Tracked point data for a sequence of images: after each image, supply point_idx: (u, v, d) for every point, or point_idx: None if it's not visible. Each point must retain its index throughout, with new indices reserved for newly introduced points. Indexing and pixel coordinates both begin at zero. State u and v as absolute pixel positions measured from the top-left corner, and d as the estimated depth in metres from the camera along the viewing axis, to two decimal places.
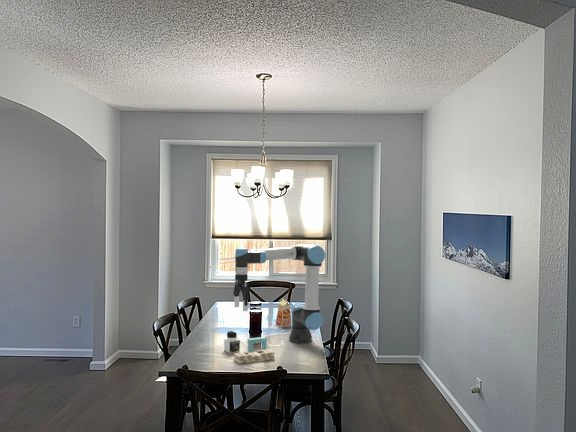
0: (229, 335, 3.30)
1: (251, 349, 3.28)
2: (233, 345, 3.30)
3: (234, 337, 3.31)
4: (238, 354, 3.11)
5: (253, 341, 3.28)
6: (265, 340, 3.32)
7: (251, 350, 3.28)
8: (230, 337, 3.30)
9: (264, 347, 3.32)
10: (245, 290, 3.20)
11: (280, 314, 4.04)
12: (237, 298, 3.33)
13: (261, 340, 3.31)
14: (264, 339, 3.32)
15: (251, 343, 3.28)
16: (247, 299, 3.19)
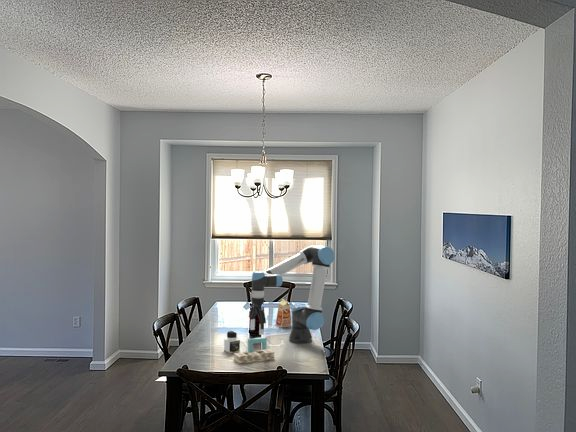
0: (229, 335, 3.30)
1: (251, 349, 3.28)
2: (233, 345, 3.30)
3: (234, 337, 3.31)
4: (238, 354, 3.11)
5: (253, 341, 3.28)
6: (265, 340, 3.32)
7: (251, 350, 3.28)
8: (230, 337, 3.30)
9: (264, 347, 3.32)
10: (262, 314, 3.23)
11: (280, 314, 4.04)
12: (253, 321, 3.37)
13: (261, 340, 3.31)
14: (264, 339, 3.32)
15: (251, 343, 3.28)
16: (263, 323, 3.22)
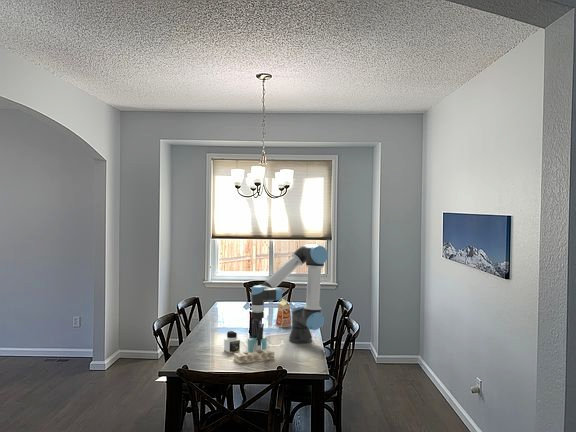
0: (229, 335, 3.30)
1: (251, 349, 3.28)
2: (233, 345, 3.30)
3: (234, 337, 3.31)
4: (238, 354, 3.11)
5: (253, 341, 3.28)
6: (265, 340, 3.32)
7: (251, 350, 3.28)
8: (230, 337, 3.30)
9: (264, 347, 3.32)
10: (260, 331, 3.26)
11: (280, 314, 4.04)
12: None
13: (261, 340, 3.31)
14: (264, 339, 3.32)
15: (251, 343, 3.28)
16: (260, 339, 3.27)
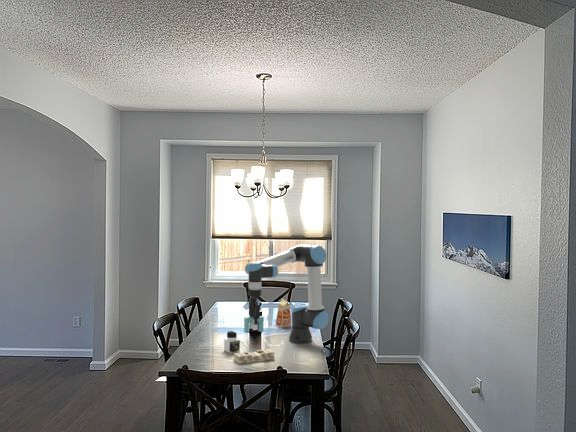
0: (229, 335, 3.30)
1: (247, 328, 3.13)
2: (233, 345, 3.30)
3: (234, 337, 3.31)
4: (238, 354, 3.11)
5: (249, 320, 3.13)
6: (262, 319, 3.17)
7: (247, 329, 3.13)
8: (230, 337, 3.30)
9: (261, 327, 3.17)
10: (257, 309, 3.11)
11: (280, 314, 4.04)
12: None
13: (258, 319, 3.16)
14: (261, 318, 3.17)
15: (247, 322, 3.13)
16: (257, 318, 3.12)
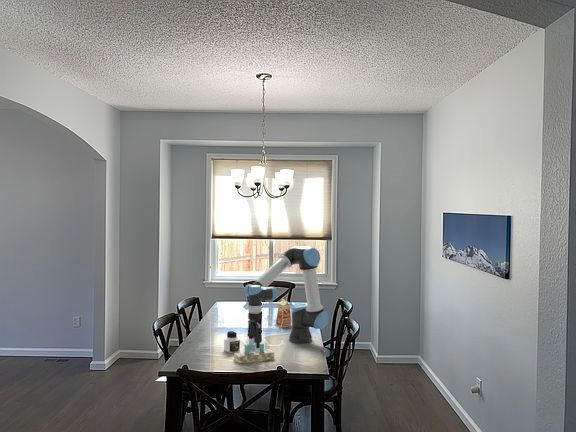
0: (229, 335, 3.30)
1: None
2: (233, 345, 3.30)
3: (234, 337, 3.31)
4: (238, 354, 3.11)
5: (249, 347, 3.12)
6: (262, 346, 3.16)
7: None
8: (230, 337, 3.30)
9: None
10: (258, 332, 3.09)
11: (280, 314, 4.04)
12: (252, 340, 3.18)
13: None
14: (262, 344, 3.15)
15: (247, 349, 3.12)
16: (259, 341, 3.09)
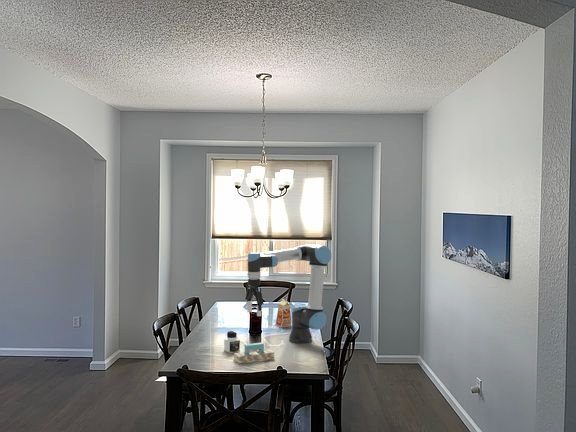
0: (229, 335, 3.30)
1: None
2: (233, 345, 3.30)
3: (234, 337, 3.31)
4: (238, 354, 3.11)
5: (249, 347, 3.12)
6: (262, 346, 3.16)
7: None
8: (230, 337, 3.30)
9: None
10: (259, 295, 3.17)
11: (280, 314, 4.04)
12: (250, 303, 3.30)
13: (258, 346, 3.15)
14: (262, 344, 3.15)
15: (247, 349, 3.12)
16: (261, 304, 3.16)
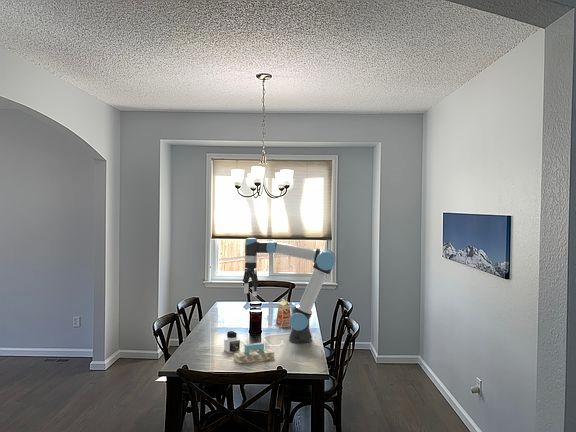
0: (229, 335, 3.30)
1: None
2: (233, 345, 3.30)
3: (234, 337, 3.31)
4: (238, 354, 3.11)
5: (249, 347, 3.12)
6: (262, 346, 3.16)
7: None
8: (230, 337, 3.30)
9: None
10: (254, 277, 3.44)
11: (280, 314, 4.04)
12: (246, 285, 3.57)
13: (258, 346, 3.15)
14: (262, 344, 3.15)
15: (247, 349, 3.12)
16: (256, 285, 3.42)
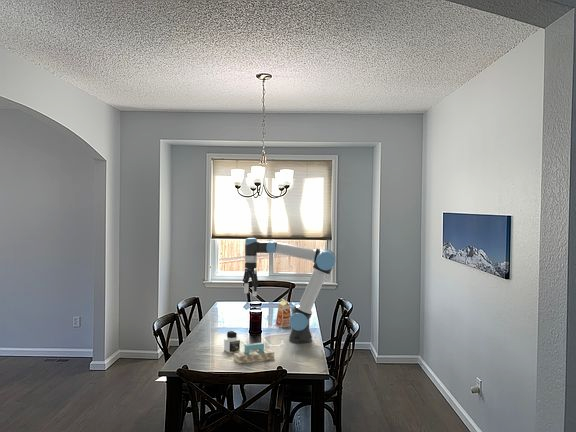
0: (229, 335, 3.30)
1: None
2: (233, 345, 3.30)
3: (234, 337, 3.31)
4: (238, 354, 3.11)
5: (249, 347, 3.12)
6: (262, 346, 3.16)
7: None
8: (230, 337, 3.30)
9: None
10: (254, 277, 3.44)
11: (280, 314, 4.04)
12: (246, 285, 3.57)
13: (258, 346, 3.15)
14: (262, 344, 3.15)
15: (247, 349, 3.12)
16: (256, 285, 3.42)
